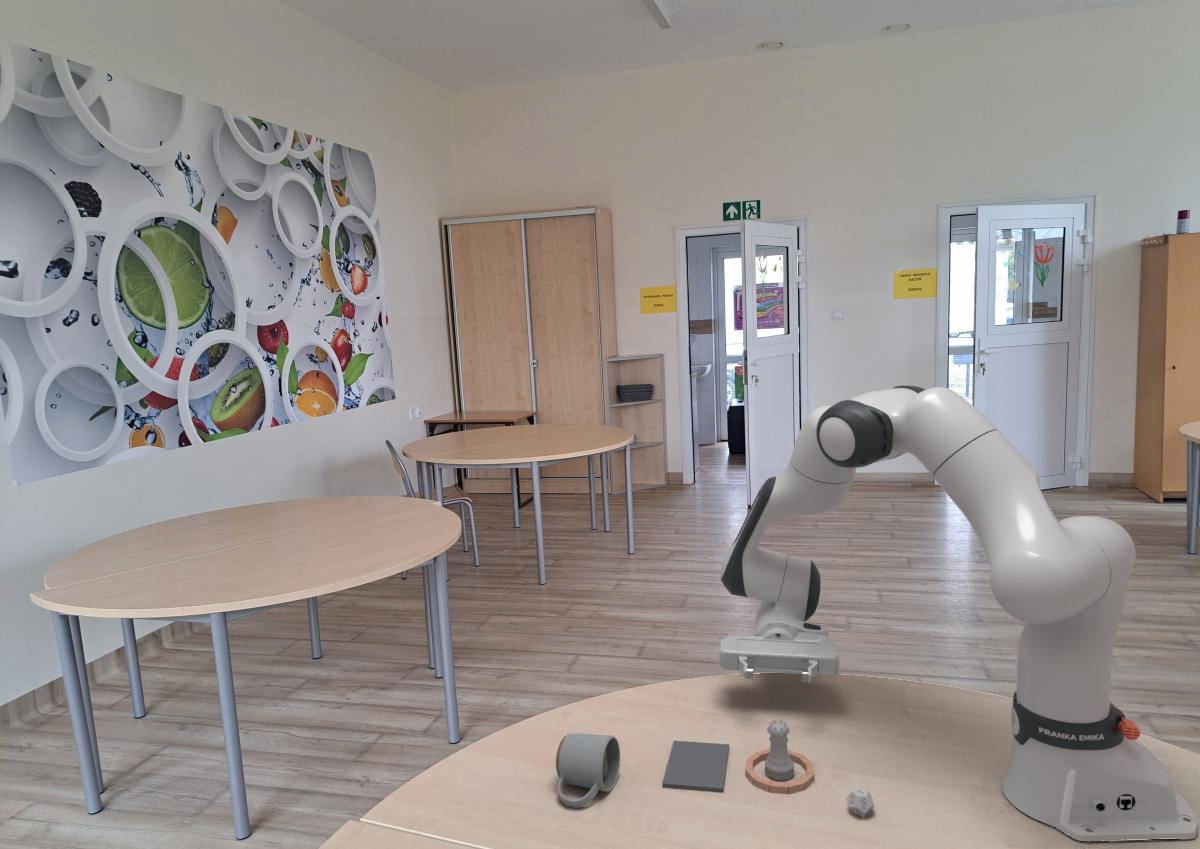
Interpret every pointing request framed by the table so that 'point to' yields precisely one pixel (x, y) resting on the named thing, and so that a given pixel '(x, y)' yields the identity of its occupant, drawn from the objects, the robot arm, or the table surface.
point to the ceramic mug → (587, 765)
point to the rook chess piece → (779, 753)
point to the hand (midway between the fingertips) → (777, 676)
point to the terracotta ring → (778, 786)
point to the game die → (860, 801)
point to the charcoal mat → (697, 766)
